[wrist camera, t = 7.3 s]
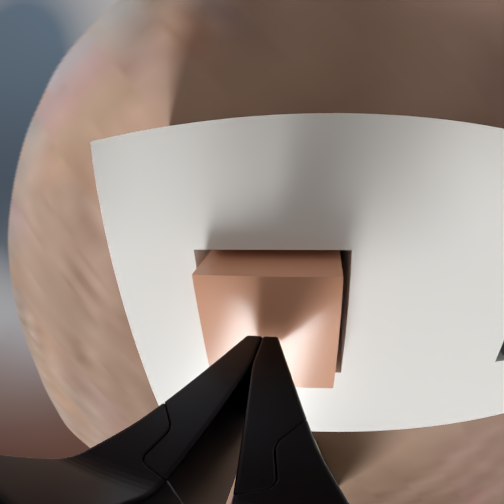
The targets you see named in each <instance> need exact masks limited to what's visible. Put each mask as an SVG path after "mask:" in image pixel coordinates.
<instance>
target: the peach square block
mask: <svg viewBox="0 0 504 504" xmlns="http://www.w3.org/2000/svg"><path fill="white" fill-rule="evenodd" d="M192 279H193V284H194V290H195V296H196V301H197V307H198V312H199V318H200V323H201V328H202V333H203V338H204V343H205V348H206V353H207V358H208V363H209V367H210V366H211V365H212V364H213V363H215V362H216V361H217V360H218V359H220V358H221V357H222V356H223V355H224V354H226V353H227V352H228V351H229V350H230V349H232V348H233V347H234V346H235V345H236V344H238V343H239V342H240V341H241V340H242V339H244V338H245V337H246V336H248V335H252V336H261V337H262V338H263V337H264V336H271V337H278V339H279V341H280V344H281V347H282V350H283V353H284V356H285V359H286V361H287V364H288V367H289V370H290V373H291V376H292V379H293V382H294V384H295V387H302V388H333V386H334V378H335V370H336V361H337V352H338V342H339V331H340V320H341V307H342V292H343V271H342V264H341V257H340V250H211V251H210V252H209V254H208V255H207V256H206V257H205V259H204V260H203V261H202V262H201V264H200V265H199V266H198V267H197V269H196V270H195V271H194V272H193V274H192Z"/></svg>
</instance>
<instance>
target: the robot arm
mask: <svg viewBox="0 0 504 504" xmlns="http://www.w3.org/2000/svg"><path fill="white" fill-rule="evenodd" d="M236 473H237V474H236ZM235 476H236V480H235V487H234V496H233V501H232V504H349V503H348V501H347V499H346V498H345V496H344V494H343V492H342V491H341V489H340V487H339V486H338V484H337V482H336V480H335V479H334V477H333V475H332V474H331V472H330V470H329V468H328V467H327V465H326V463H325V461H324V459H323V457H322V455H321V453H320V451H319V449H318V447H317V445H316V442H315V440H314V437H313V435H312V432H311V430H310V427H309V424H308V421H307V419H306V416H305V413H304V410H303V407H302V404H301V402H300V399H299V396H298V393H297V390H296V387H295V384H294V382H293V379H292V376H291V373H290V370H289V367H288V364H287V361H286V359H285V356H284V353H283V350H282V347H281V344H280V341H279V339H278V337H271V336H264V337H263V338H262V337H261V336H252V335H248V336H246V337H245V338H244V339H242V340H241V341H240V342H239V343H238V344H236V345H235V346H234V347H233V348H232V349H230V350H229V351H228V352H227V353H226V354H224V355H223V356H222V357H221V358H220V359H218V360H217V361H216V362H215V363H213V364H212V365H211V366H210V367H208V368H207V369H206V370H205V371H204V372H202V373H201V374H200V375H199V376H197V377H196V378H195V379H193V380H192V381H191V382H190V383H188V384H187V385H186V386H185V387H183V388H182V389H181V390H179V391H178V392H177V393H176V394H174V395H173V396H172V397H170V398H169V399H168V400H167V401H165V404H164V403H163V404H161V405H160V406H158V407H157V408H156V409H155V410H153V411H152V412H150V413H149V414H148V415H146V416H145V417H143V418H142V419H140V420H139V421H137V422H136V423H134V424H133V425H131V426H129V427H128V428H126V429H124V430H123V431H121V432H119V433H118V434H116V435H114V436H112V437H110V438H109V439H107V440H105V441H103V442H101V443H99V444H98V445H96V446H94V447H92V448H90V449H88V450H87V451H84V452H82V453H80V454H78V455H75V456H72V457H68V458H61V459H46V458H27V457H15V456H14V457H13V456H4V455H0V504H226V501H227V499H228V496H229V493H230V490H231V487H232V485H233V482H234V479H235Z"/></svg>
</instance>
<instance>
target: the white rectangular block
mask: <svg viewBox="0 0 504 504" xmlns="http://www.w3.org/2000/svg"><path fill="white" fill-rule="evenodd" d="M90 145H91V153H92V160H93V167H94V174H95V180H96V186H97V192H98V198H99V203H100V209H101V214H102V219H103V224H104V229H105V233H106V238H107V242H108V247H109V251H110V255H111V260H112V264H113V268H114V272H115V275H116V279H117V283H118V287H119V290H120V294H121V298H122V301H123V304H124V308H125V311H126V315H127V318H128V321H129V324H130V328H131V331H132V334H133V337H134V340H135V343H136V346H137V349H138V352H139V355H140V358H141V360H142V363H143V366H144V369H145V372H146V374H147V377H148V380H149V382H150V385H151V387H152V390H153V393H154V395H155V398H156V400H157V403H158V405H159V406H160V405H161V404H163V403H164V404H165V401H167V400H168V399H169V398H170V397H172V396H173V395H174V394H176V393H177V392H178V391H179V390H181V389H182V388H183V387H185V386H186V385H187V384H188V383H190V382H191V381H192V380H193V379H195V378H196V377H197V376H199V375H200V374H201V373H202V372H204V371H205V370H206V369H207V368H208V367H209V363H208V358H207V353H206V348H205V343H204V338H203V333H202V328H201V323H200V318H199V312H198V307H197V301H196V296H195V290H194V284H193V279H192V274H193V272H194V271H195V270H196V269H197V267H198V266H199V265H200V264H201V262H202V261H203V260H204V259H205V257H206V256H207V255H208V254H209V252H210V251H211V250H340V257H341V264H342V271H343V292H342V307H341V320H340V331H339V342H338V352H337V361H336V370H335V378H334V386H333V388H302V387H296V390H297V393H298V396H299V399H300V402H301V404H302V407H303V410H304V413H305V416H306V419H307V421H308V424H309V427H310V430H311V431H318V432H359V431H383V430H398V429H410V428H420V427H428V426H436V425H444V424H451V423H457V422H463V421H469V420H474V419H479V418H484V417H489V416H494V415H498V414H502V413H504V356H503V354H502V352H501V350H500V349H501V346H502V344H503V341H504V129H503V128H497V127H492V126H486V125H480V124H474V123H467V122H460V121H453V120H445V119H436V118H426V117H415V116H402V115H386V114H362V113H305V114H279V115H263V116H249V117H238V118H227V119H218V120H209V121H201V122H193V123H186V124H179V125H173V126H166V127H160V128H154V129H149V130H143V131H138V132H133V133H128V134H123V135H118V136H113V137H109V138H104V139H100V140H96V141H91V142H90Z"/></svg>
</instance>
